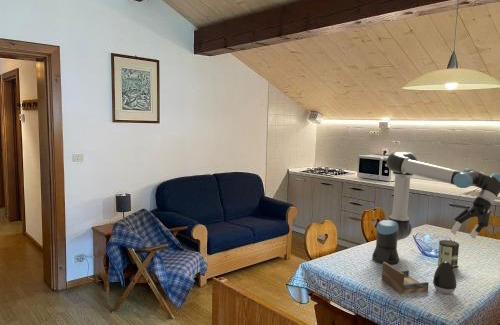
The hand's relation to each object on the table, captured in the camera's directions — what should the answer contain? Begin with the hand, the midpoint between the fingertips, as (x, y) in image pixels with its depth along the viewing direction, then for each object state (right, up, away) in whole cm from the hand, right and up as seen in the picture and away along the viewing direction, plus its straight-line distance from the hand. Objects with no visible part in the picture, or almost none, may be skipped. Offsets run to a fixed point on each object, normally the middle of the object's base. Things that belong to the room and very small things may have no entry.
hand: (462, 234), depth 190 cm
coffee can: (+8, -24, +30) cm, 39 cm away
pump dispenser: (-11, -27, -4) cm, 30 cm away
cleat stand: (-28, -26, +2) cm, 38 cm away
